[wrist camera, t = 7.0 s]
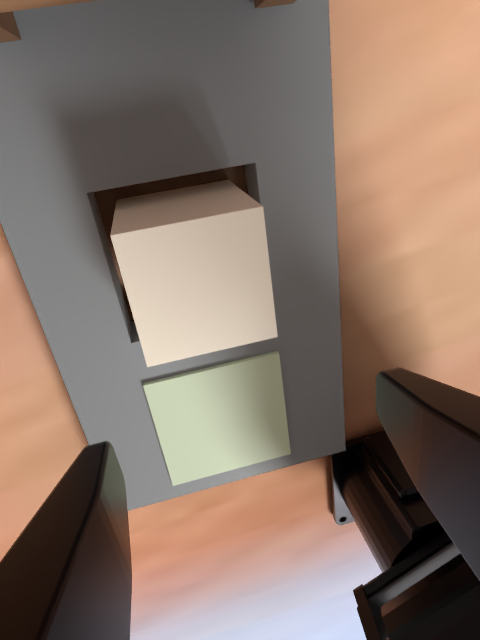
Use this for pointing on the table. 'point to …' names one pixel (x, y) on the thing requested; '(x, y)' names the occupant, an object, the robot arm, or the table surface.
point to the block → (195, 270)
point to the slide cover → (3, 3)
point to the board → (162, 163)
